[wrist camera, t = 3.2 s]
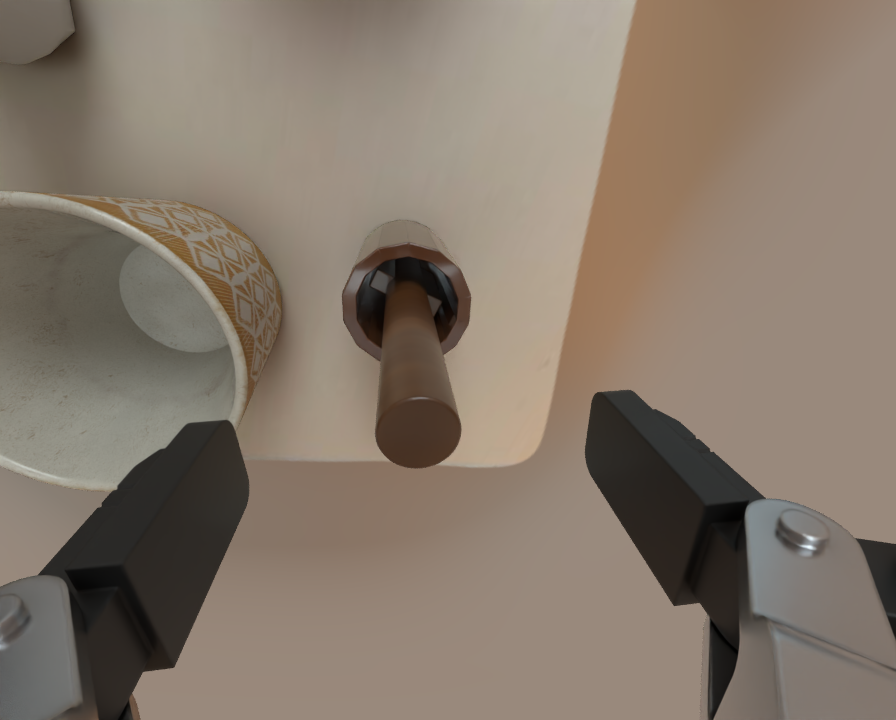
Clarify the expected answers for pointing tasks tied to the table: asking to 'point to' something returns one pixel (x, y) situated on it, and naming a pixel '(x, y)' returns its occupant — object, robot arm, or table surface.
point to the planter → (122, 330)
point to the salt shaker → (33, 28)
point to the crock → (369, 304)
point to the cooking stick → (413, 370)
